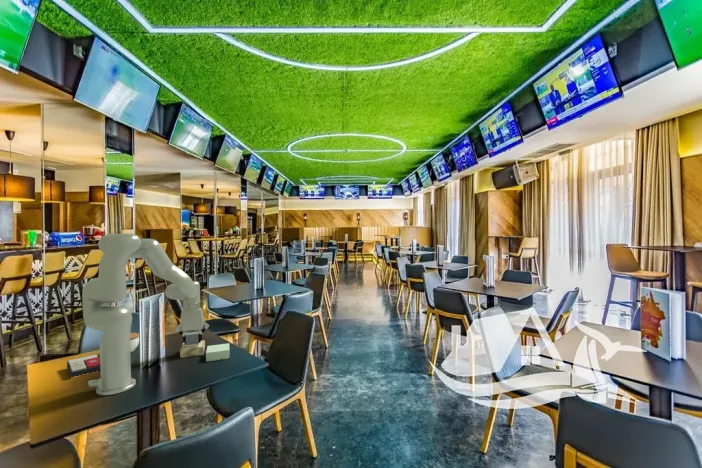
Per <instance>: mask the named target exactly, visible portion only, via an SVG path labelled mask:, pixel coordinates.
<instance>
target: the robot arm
mask: <svg viewBox="0 0 702 468" xmlns="http://www.w3.org/2000/svg"><path fill="white" fill-rule="evenodd" d="M97 244H98V245H97V246H98V249H99V250H100V251H101V253H103V254H102V257H101V258H100V260H99V263H98V277H95V278H92V279H90V280H89V281H87V282H86V283H85V285H84V287H83V288H82V299H81V301H82V316H83V322H84V324H85V326H86V327H87V328H89V329H90V330H91V329H92V330H94V331H95V330H96V331H103V333H102V335H101V337H100V341H99V359H100V367H101V371H100V378H98V379H90V380H88V381H87V386H88V387H89V388H95V387H96V389H95V393H96V394H97V396H98V395H99V396H112V395H116V394H120V393H121V394H122V393H123V392H126V391H128V390H130V389H132V388H134V387H135V385H136V384H137V383H136V381H137V380H136V379H135V378H133V377H132V373H131V372H132V368H131V366H132V364H131V362H132V361H131V352H130V333H131V330H132V329H131V328H132V322H133V314H132V312H131V311H130V310H129V309H128V308H127V307H124V306H119V305H110V304H116V303H120V302H122V301H123V300H125V298H126V296H127V272H126V271H127V269H126V268H127V264H128V262H129V260H130V258H132V259H143V261H144V262H145V264H146V265H147V266H148V268H149V269H150V271H151V272H152V274H153V275H154V276H156V277H158V278H160V279H162V280H166V281H168V282H169V283H171V284H169V285H168V286H167V287H166V288H165V290H164V294H165V296H166V298H168V299H170V300H175V301H177V300H178V301H181V300H182V303H183V304H180V305H179V308H181V309H182V310H181V313H180V323H179V324H178V326H176V328H175V329H174V330H175V332H177V333H178V334H179V335H180V336H182V344H183V343H184V344H185V345H186V335H185V332H186V331H192V330H198V331H199V343H201V341H203V334H204V333H205V332H206V331H207V330H208V329H209V327H210V324H208V323H207V322H206V321H205V320H204V313H203V307H202V308H201V286H200V285H201V284H200V281H197V280H194V281H193V280H192V278H191V277H190V276H189V275H188V274H187V273H186V272H185V271H184V270H182V269H181V268H180V267H178V266H177V265H175V264H174V263H173V262H172V261H171V258H170V257H169V256H168V254H167V253H166V251H165V250H164V248H163V246H162V245H161V244H160V242H159V241H157V240H156V239H153V238H140V237H139V236H138V235H137V234H133V233H126V232H125V233H109V234H105V235H103V236H102V237H100V239H99V240H98V243H97Z"/></svg>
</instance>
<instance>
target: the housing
mask: <svg viewBox="0 0 702 468" xmlns="http://www.w3.org/2000/svg"><path fill="white" fill-rule="evenodd" d="M185 335H186V345H185V348H186V347H194V346H199V344H200V343H199V331H198V330H192V331H186V332H185Z"/></svg>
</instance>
